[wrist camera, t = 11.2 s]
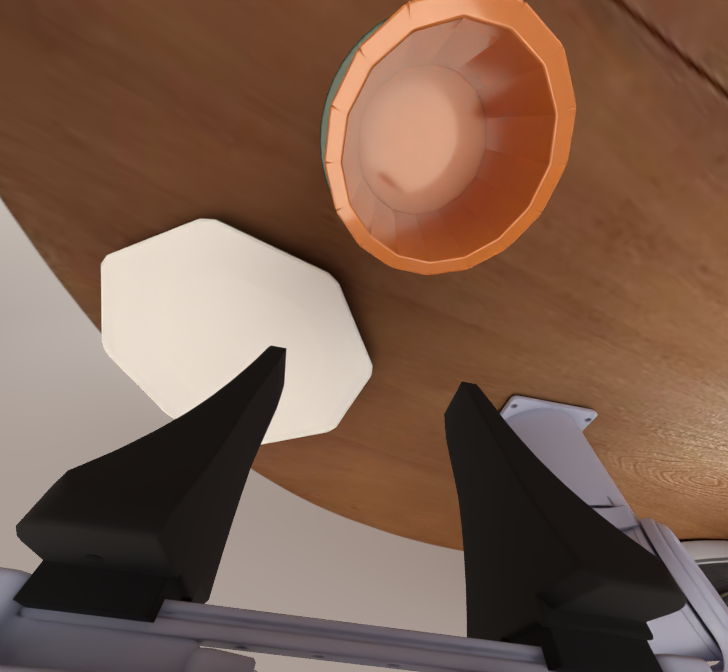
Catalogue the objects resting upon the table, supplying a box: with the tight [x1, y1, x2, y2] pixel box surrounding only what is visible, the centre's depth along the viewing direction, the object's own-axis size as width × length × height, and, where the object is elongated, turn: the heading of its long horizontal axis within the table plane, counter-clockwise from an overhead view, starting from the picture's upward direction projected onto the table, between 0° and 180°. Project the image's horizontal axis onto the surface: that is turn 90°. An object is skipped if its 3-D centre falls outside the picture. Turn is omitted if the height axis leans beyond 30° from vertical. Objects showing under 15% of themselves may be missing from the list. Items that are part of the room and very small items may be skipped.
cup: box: [324, 0, 576, 275], centre depth 9 cm, size 5×5×6 cm
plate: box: [101, 218, 373, 444], centre depth 24 cm, size 20×20×2 cm
